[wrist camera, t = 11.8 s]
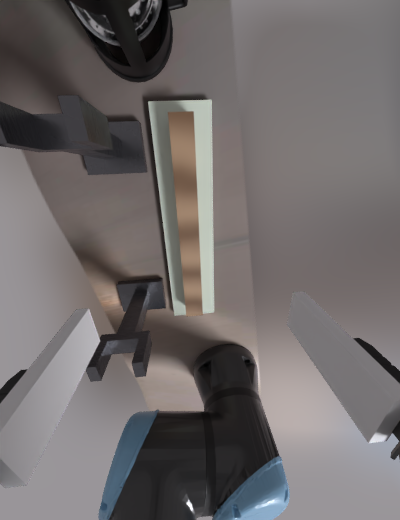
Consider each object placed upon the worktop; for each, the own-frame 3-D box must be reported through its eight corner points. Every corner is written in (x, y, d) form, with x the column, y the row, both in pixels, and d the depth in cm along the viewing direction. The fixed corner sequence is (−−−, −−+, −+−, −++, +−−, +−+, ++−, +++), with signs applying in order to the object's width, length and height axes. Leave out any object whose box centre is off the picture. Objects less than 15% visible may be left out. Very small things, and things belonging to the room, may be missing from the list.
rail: (201, 304, 37) (202, 315, 34) (186, 306, 37) (186, 316, 34) (192, 118, 25) (193, 111, 22) (169, 118, 25) (167, 112, 22)
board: (213, 308, 39) (214, 312, 38) (174, 311, 39) (174, 315, 38) (210, 102, 25) (211, 99, 24) (149, 104, 25) (147, 101, 24)
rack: (166, 304, 38) (154, 385, 23) (125, 307, 38) (88, 391, 23) (140, 123, 26) (82, 55, 11) (79, 125, 25) (-65, 57, 11)
